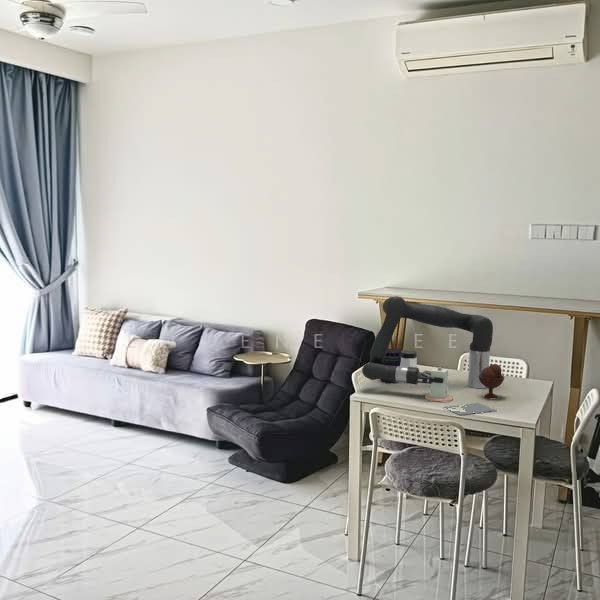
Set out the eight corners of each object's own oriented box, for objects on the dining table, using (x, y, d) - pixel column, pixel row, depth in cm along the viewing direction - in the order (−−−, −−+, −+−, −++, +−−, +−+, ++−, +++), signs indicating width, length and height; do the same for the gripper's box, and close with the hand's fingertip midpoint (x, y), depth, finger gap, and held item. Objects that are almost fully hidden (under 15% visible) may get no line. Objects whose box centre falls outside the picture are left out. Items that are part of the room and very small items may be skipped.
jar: (406, 378, 332) (407, 354, 330) (395, 375, 339) (396, 351, 337) (419, 376, 337) (420, 352, 335) (408, 372, 343) (409, 349, 342)
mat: (478, 403, 288) (478, 402, 288) (496, 411, 277) (496, 410, 277) (442, 407, 281) (442, 406, 281) (460, 415, 270) (460, 414, 270)
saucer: (442, 393, 303) (442, 391, 303) (458, 400, 292) (458, 398, 292) (419, 396, 299) (419, 394, 298) (435, 403, 288) (435, 400, 287)
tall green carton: (433, 393, 299) (434, 365, 298) (447, 395, 297) (448, 366, 295) (430, 397, 294) (431, 368, 292) (444, 398, 291) (445, 369, 290)
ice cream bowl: (496, 393, 305) (497, 360, 303) (507, 400, 294) (509, 366, 292) (473, 394, 303) (475, 361, 301) (484, 400, 292) (486, 366, 291)
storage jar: (382, 377, 332) (383, 347, 330) (402, 379, 329) (403, 349, 327) (377, 382, 323) (378, 351, 321) (397, 384, 319) (398, 353, 318)
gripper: (403, 370, 293) (442, 373, 286) (411, 363, 306) (448, 367, 300) (403, 387, 293) (441, 391, 287) (410, 379, 307) (447, 383, 300)
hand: (444, 378), depth 293 cm, fingers open, 7 cm apart
